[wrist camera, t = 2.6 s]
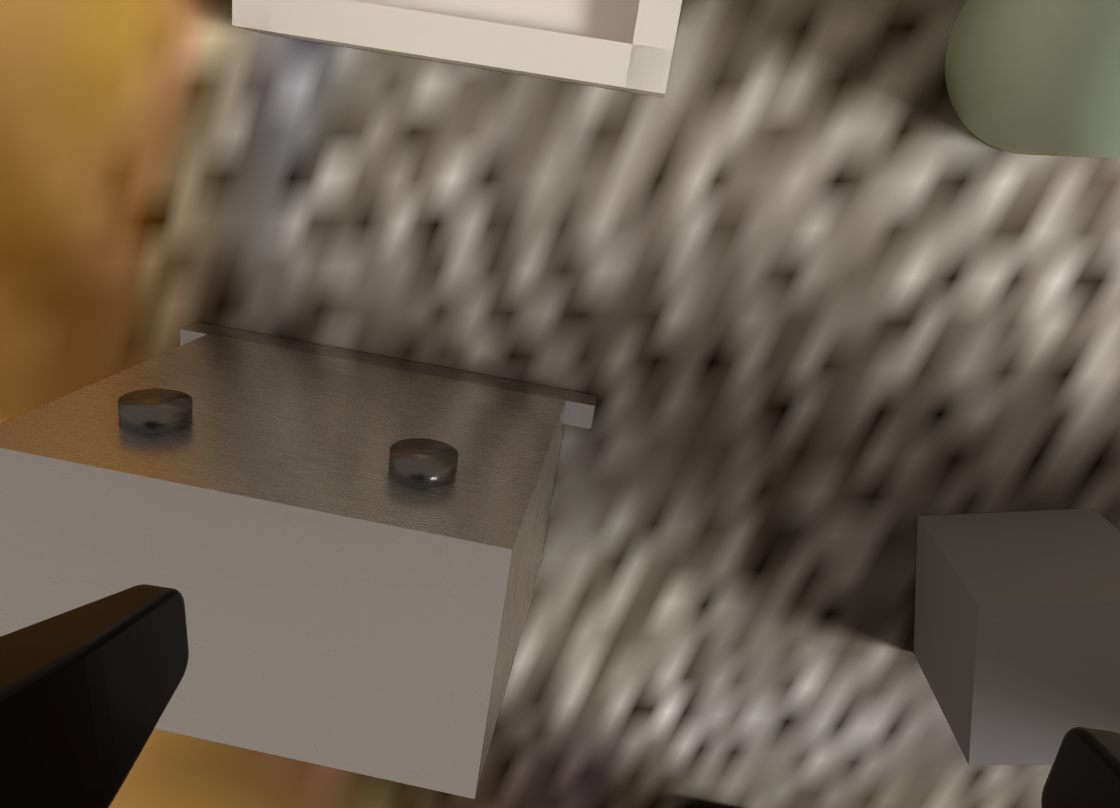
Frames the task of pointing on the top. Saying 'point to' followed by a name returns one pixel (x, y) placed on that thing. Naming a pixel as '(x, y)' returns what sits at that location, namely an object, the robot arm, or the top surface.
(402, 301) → the top surface
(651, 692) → the top surface
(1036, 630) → the grey block
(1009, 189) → the top surface
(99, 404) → the block
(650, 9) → the tray
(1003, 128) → the pale green rounded cylinder
